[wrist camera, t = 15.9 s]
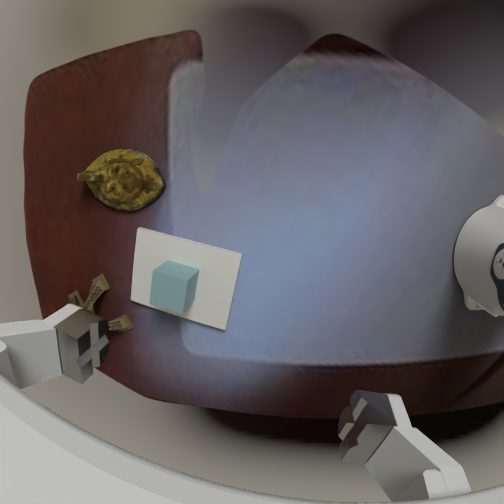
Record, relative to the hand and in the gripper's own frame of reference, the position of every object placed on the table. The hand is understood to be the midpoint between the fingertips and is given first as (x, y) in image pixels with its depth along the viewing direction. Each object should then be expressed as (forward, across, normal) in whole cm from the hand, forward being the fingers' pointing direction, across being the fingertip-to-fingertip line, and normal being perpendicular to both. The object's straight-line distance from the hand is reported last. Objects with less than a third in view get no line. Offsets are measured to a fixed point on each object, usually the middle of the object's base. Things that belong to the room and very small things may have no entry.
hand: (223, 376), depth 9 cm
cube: (+32, +12, +12) cm, 36 cm away
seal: (+34, +24, 0) cm, 41 cm away
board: (+33, +12, +12) cm, 37 cm away
